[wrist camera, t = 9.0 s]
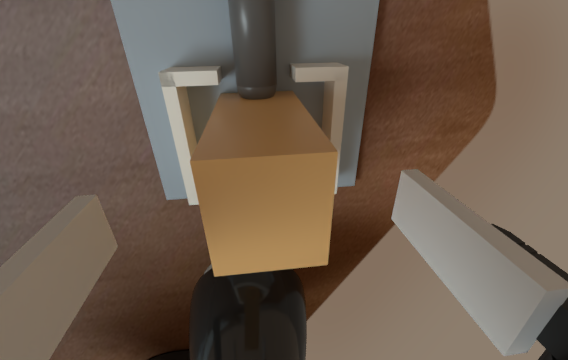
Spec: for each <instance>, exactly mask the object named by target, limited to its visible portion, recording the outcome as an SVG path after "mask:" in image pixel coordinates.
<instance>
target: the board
mask: <svg viewBox="0 0 568 360" xmlns="http://www.w3.org/2000/svg"><path fill="white" fill-rule="evenodd" d="M111 3H112V7H113V10H114V14H115V17H116V21H117V24H118V28H119V31H120V35H121V39H122V42H123V46H124V49H125V53H126V56H127V60H128V63H129V67H130V71H131V74H132V78H133V81H134V85H135V88H136V92H137V95H138V99H139V103H140V106H141V110H142V113H143V117H144V120H145V124H146V127H147V131H148V135H149V138H150V142H151V145H152V149H153V152H154V156H155V159H156V163H157V166H158V170H159V174H160V177H161V181H162V184H163V188H164V191H165V195H166V198H167V200H171V199H184V198H188V202H189V205H198V204H199V202H198V198H197V193H196V188H195V183H194V179H193V174H192V169H191V165H190V160H191V157H192V155H193V153H194V151H195V149H196V146H197V144H198V142H199V140H200V138H201V135H202V133H203V131H204V129H205V127H206V124H207V122H208V120H209V118H210V116H211V114H212V111H213V109H214V107H215V105H216V103H217V100H218V98H219V96H220V94H221V93H239V92H238V90H237V86H236V77H235V67H234V57H233V47H232V37H231V27H230V17H229V7H228V0H111ZM378 7H379V0H275V31H276V67H277V88H276V91H293V92H294V93H295V95H296V96H297V97H298V99H299V100H300V101H301V103H302V104H303V105H304V107H305V108H306V109H307V111H308V112H309V114H310V115H311V116H312V118H313V119H314V120H315V122H316V123H317V124H318V126H319V127H320V128H321V130H322V131H323V132H324V134H325V135H326V136H327V138H328V139H329V140H330V142H331V143H332V144H333V146H334V147H335V148H336V150H337V151H338V159H337V170H336V180H335V191H334V194H337V187H343V186H354V185H355V178H356V171H357V163H358V156H359V148H360V141H361V133H362V126H363V119H364V111H365V104H366V96H367V89H368V81H369V74H370V66H371V59H372V52H373V44H374V37H375V29H376V22H377V14H378Z"/></svg>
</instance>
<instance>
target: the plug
mask: <svg viewBox="0 0 568 360" xmlns="http://www.w3.org/2000/svg"><path fill="white" fill-rule="evenodd" d="M228 7H229V17H230V27H231V37H232V47H233V57H234V67H235V77H236V86H237V90H238V92H239V93H221V94H220V96H219V98H218V100H217V103H216V105H215V107H214V109H213V111H212V114H211V116H210V118H209V120H208V122H207V124H206V127H205V129H204V131H203V133H202V135H201V138H200V140H199V142H198V144H197V146H196V149H195V151H194V153H193V155H192V157H191V160H190V165H191V169H192V174H193V179H194V183H195V188H196V193H197V198H198V202H199V207H200V212H201V216H202V221H203V226H204V231H205V235H206V240H207V245H208V249H209V254H210V259H211V263H212V268H213V273H214V277H217V276H226V275H236V274H246V273H255V272H265V271H275V270H284V269H294V268H303V267H313V266H323V265H328V257H329V246H330V235H331V224H332V213H333V202H334V191H335V180H336V170H337V159H338V151H337V150H336V148H335V147H334V146H333V144H332V143H331V142H330V140H329V139H328V138H327V136H326V135H325V134H324V132H323V131H322V130H321V128H320V127H319V126H318V124H317V123H316V122H315V120H314V119H313V118H312V116H311V115H310V114H309V112H308V111H307V109H306V108H305V107H304V105H303V104H302V103H301V101H300V100H299V99H298V97H297V96H296V95H295V93H294V92H293V91H276V88H277V67H276V31H275V0H228Z"/></svg>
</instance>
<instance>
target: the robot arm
mask: <svg viewBox="0 0 568 360" xmlns="http://www.w3.org/2000/svg"><path fill="white" fill-rule="evenodd" d="M391 219H392V221H393V222H394V223H395V224H396V225H397V227H398V228H399V229H400V230H401V232H402V233H403V234H404V235H405V236H406V238H407V239H408V240H409V241H410V243H411V244H412V245H413V246H414V247H415V249H416V250H417V251H418V252H419V253H420V255H421V256H422V257H423V258H424V260H425V261H426V262H427V263H428V265H429V266H430V267H431V268H432V269H433V271H434V272H435V273H436V274H437V275H438V277H439V278H440V279H441V280H442V282H443V283H444V284H445V285H446V286H447V288H448V289H449V290H450V291H451V293H452V294H453V295H454V296H455V297H456V299H457V300H458V301H459V302H460V304H461V305H462V306H463V307H464V309H465V310H466V311H467V312H468V313H469V315H470V316H471V317H472V318H473V320H474V321H475V322H476V323H477V324H478V326H479V327H480V328H481V329H482V331H483V332H484V333H485V334H486V335H487V337H488V338H489V339H490V340H491V342H493V344H494V345H495V346H496V348H497V349H498V350H499V351H500V353H501V354H502V355H503V356H508V355H514V354H520V353H526V352H528V351H529V349H530V348H531V346H532V345H533V344H534V342H535V341H536V340H538V341H539V342H540V343H541V344H542V345H543V346H544V347H545V348H546V350H545V351H544V353H543V354H542V355H541V356H540V358H539V359H538V360H568V274H567V273H566V272H565V271H563V270H562V269H560V268H559V267H558V266H556V265H555V264H553V263H552V262H551V261H549V260H548V259H547V258H545V257H544V256H542V255H541V254H538V253H537V251H535V250H534V249H533V248H531V247H530V246H529V245H525V242H523V241H522V240H520V239H519V238H517V237H516V236H515V235H513V234H512V233H511V232H509V231H507V230H505V229H502V228H500V227H498V226H496V225H494V224H490V223H488V222H487V221H486V220H484V219H483V218H482V217H480V216H479V215H478V214H476V213H475V212H474V211H472V210H471V209H469V208H468V207H467V206H466V205H464V204H463V203H462V202H460V201H459V200H458V199H456V198H455V197H454V196H452V195H451V194H450V193H448V192H447V191H446V190H444V189H443V188H442V187H440V186H439V185H438V184H436V183H435V182H434V181H432V180H431V179H430V178H428V177H427V176H426V175H424V174H423V173H422V172H420V171H419V170H418V169H412V170H402V171H401V176H400V180H399V185H398V190H397V194H396V199H395V204H394V208H393V213H392V217H391ZM117 247H118V245H117V243H116V240H115V238H114V235H113V233H112V231H111V228H110V226H109V223H108V221H107V219H106V216H105V214H104V211H103V209H102V207H101V204H100V202H99V199H98V197H97V195H85V196H76V197H75V198H74V199H73V200H72V201H70V202H69V203H68V204H67V205H66V206H65V207H64V208H63V209H62V210H61V211H60V212H59V213H58V214H57V215H56V216H54V217H53V218H52V219H51V220H50V221H49V222H48V223H47V224H46V225H45V226H44V227H43V228H42V229H41V230H39V231H38V232H37V233H36V234H35V235H34V236H33V237H32V238H31V239H30V240H29V241H28V242H27V243H26V244H24V245H23V246H22V247H21V248H20V249H19V250H18V251H17V252H16V253H15V254H14V255H13V256H12V257H11V258H9V259H8V260H7V261H6V262H5V263H4V264H3V265H2V266H1V267H0V360H49V359H50V357H51V356H52V354H53V352H54V351H55V349H56V347H57V346H58V344H59V342H60V341H61V339H62V338H63V336H64V334H65V333H66V331H67V329H68V328H69V326H70V324H71V323H72V321H73V320H74V318H75V316H76V315H77V313H78V311H79V310H80V308H81V306H82V305H83V303H84V301H85V300H86V298H87V297H88V295H89V293H90V292H91V290H92V288H93V287H94V285H95V283H96V282H97V280H98V278H99V277H100V275H101V274H102V272H103V270H104V269H105V267H106V265H107V264H108V262H109V260H110V259H111V257H112V255H113V254H114V252H115V251H116V249H117ZM150 360H190V357H189V351H178V352H172V353H167V354H163V355H160V356H157V357H154V358H152V359H150Z"/></svg>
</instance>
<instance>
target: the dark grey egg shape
mask: <svg viewBox="0 0 568 360" xmlns="http://www.w3.org/2000/svg"><path fill="white" fill-rule="evenodd" d="M305 356H306V303H305V295H304V289H303V285H302V282H301V280H300V278H299V276H298V275H297V274H296V273H295V272H294V271H293V269H284V270H275V271H265V272H255V273H246V274H236V275H226V276H217V277H214V273H213V268H212V264H211V265H210V266H209V267H208V268H207V270H206V271H205V273H204V275H203V276H202V277H201V278H200V279H199V280H198V282H197V283H196V285H195V288H194V290H193V294H192V299H191V305H190V318H189V357H190V360H305Z"/></svg>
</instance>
